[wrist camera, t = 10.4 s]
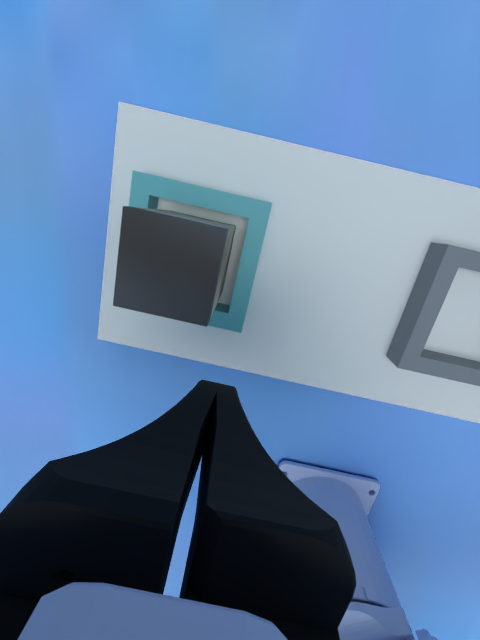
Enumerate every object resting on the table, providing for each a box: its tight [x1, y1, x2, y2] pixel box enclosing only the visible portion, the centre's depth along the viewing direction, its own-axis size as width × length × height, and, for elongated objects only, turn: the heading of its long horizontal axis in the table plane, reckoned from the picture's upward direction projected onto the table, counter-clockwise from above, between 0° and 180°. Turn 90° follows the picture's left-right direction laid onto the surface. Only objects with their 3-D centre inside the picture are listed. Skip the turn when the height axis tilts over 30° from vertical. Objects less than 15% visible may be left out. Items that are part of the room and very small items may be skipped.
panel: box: [98, 102, 480, 423], centre depth 19 cm, size 14×29×3 cm, turn 78°
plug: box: [113, 206, 236, 327], centre depth 16 cm, size 4×4×7 cm
